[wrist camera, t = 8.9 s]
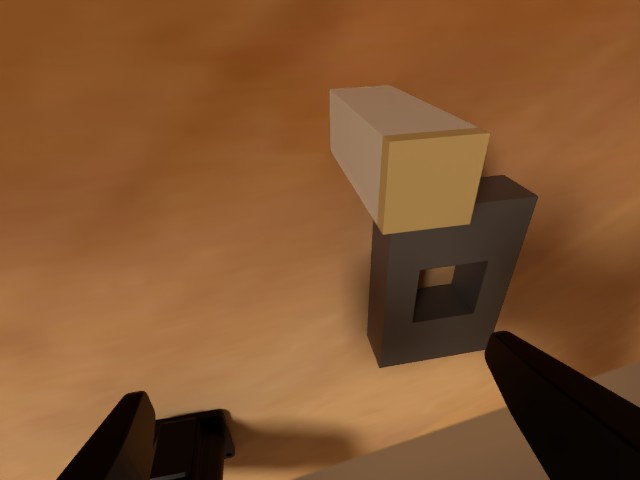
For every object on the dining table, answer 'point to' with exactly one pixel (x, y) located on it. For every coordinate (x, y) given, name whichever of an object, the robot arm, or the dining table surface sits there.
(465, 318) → the block
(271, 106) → the dining table surface
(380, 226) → the plug
